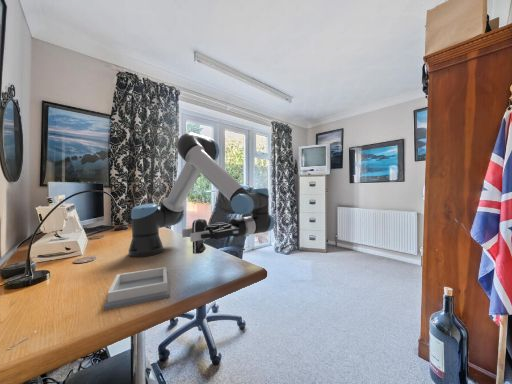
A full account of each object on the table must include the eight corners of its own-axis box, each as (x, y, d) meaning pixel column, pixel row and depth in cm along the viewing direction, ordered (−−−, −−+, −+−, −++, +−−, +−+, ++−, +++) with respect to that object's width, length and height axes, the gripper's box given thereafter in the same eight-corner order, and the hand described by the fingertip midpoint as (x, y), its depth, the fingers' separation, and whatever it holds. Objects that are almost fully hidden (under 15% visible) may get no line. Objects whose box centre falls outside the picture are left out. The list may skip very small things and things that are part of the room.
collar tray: (116, 282, 74) (116, 272, 74) (167, 274, 81) (167, 264, 81) (104, 310, 58) (103, 297, 58) (169, 296, 64) (169, 285, 64)
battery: (203, 254, 75) (202, 221, 75) (192, 254, 76) (191, 221, 75) (208, 248, 82) (207, 218, 82) (198, 248, 82) (197, 218, 82)
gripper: (257, 240, 82) (198, 253, 68) (229, 231, 98) (177, 240, 84) (256, 220, 82) (198, 229, 68) (229, 215, 98) (176, 220, 83)
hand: (186, 235), depth 76 cm, fingers closed on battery, 7 cm apart
